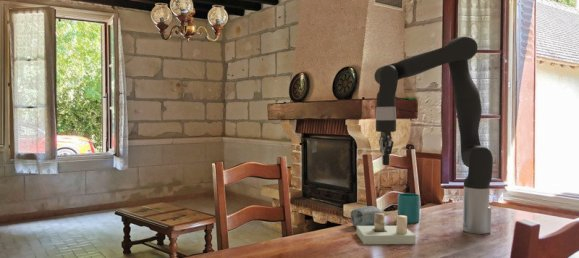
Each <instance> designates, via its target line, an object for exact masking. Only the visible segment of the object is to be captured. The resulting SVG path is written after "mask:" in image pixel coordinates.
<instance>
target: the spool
mask: <svg viewBox="0 0 579 258" xmlns="http://www.w3.org/2000/svg"><path fill="white" fill-rule="evenodd" d="M375 213H382V211H381V209H380V208H379V207H377V206H373V205H370V206H369V205H368V206H367V205H366V206H361V207H357V208H353V209H352V210H351V211H350V220H351V223H352V225H353V227H354V228H356V229H357V226H374V215H375Z"/></svg>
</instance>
